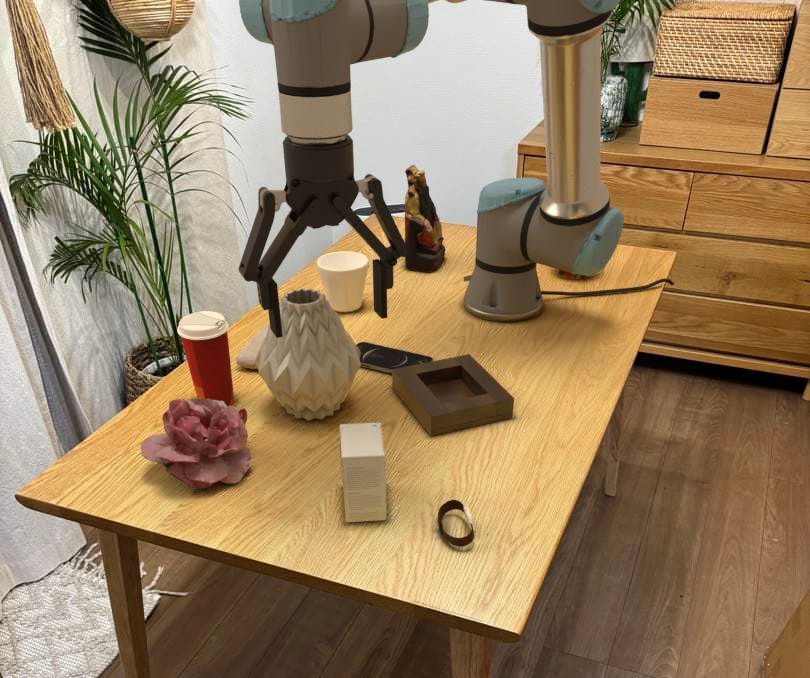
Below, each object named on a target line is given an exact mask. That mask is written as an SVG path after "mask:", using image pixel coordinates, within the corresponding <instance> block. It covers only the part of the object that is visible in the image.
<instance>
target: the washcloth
mask: <svg viewBox="0 0 810 678" xmlns="http://www.w3.org/2000/svg"><path fill="white" fill-rule="evenodd" d="M269 324H270V322H269V323H268V324H266V325H265V324H264V325H262V326H261V327H260V329H259V330H258V332H256V334H255V335H253V336H252V337H251V338H250V339H249V341H248V342H247V343H246V344H245V345H244V346H243V347H242V348H241V349H240V350H239V351H238V354H237V356H236V365H237V366H240V367H242V368H246V369H250V370H259V369H258V367H257V365H256V363H255V359H256V357H257V354H258V352H259V349H260V347H261V344H262V342H263V340H264V339H265V337H266V335H267V332H268V328H269Z"/></svg>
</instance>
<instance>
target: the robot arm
mask: <svg viewBox="0 0 810 678" xmlns="http://www.w3.org/2000/svg"><path fill="white" fill-rule="evenodd" d="M438 1H440V0H238V7H239V12H240V18H241V21H242V23H243V26H244V27H245V29H246V31H247V33H248V34H249V35H250V36H251V37H252V38H254V40H256V41H258V42H260V43H265V44H268V45H272V46H273V51H274V61H275V68H276V69H275V71H276V80H277V89H278V100H279V113H280V114H279V115H280V127H281V128H280V129H281V132H282V133H283V134H284V135H286V136H285V137H284V138H283V139H284V140H283V141H282V151H283V161H284V173H285V184H284V185H285V186H284V188H283V189H269V188H268V187H267V186H261V187H260V188H259V189H258V191H257V192H258V194H257V195H258V196H257V199H258V201H257V203H258V205H257V207H258V209H257V211H256V212H257V213H256V215H255V218H254V221H253V223H252V227H251V229H250V233H249V236H248V239H247V241H246V244H245V247H244V250H243V254H242V256H241V260H240V262H239V266H238V272H239V274H240V275H241V276H242V278H243V280H245V282H247V283H248V282H254V283H256V289H257V298H258V303H259V305H260V307H261V308H262V309H263V311H267V313H268V319H269V320H268V321H269V323H270V329H271V331H272V332H273V333H274V335H275V336H276V338H279V337H283V334H282V325H281V316H280V306H279V303H280V298H279V288H278V283H277V282H276V280H275V279H274V278H273V277H274V276H275V275H276V273H277V271H278V270H279V268H280V267H281V265H282V264H283V262H284V260H285V259H286V257H287V255H289V253H290V251H291V249H292V248H293V246H294V245H295V243H296V241H297V240H298V239H299V238H300V236H302V235H303V234H304V233H305V231H306V230H307V228H311V229H313V230H317V229H321V228H324V227H326V226H327V227H337V226H338V227H339V226H340V224H341V223H342V222H343V221H345V222H346V223H347V224H349V226H350V227H351V228H352V229H353V230H354V231H355V232H356V234H357V235H359V236H360V238H361V239H362V240H363V241H364V242H365V243H366V244H367V245H368V246H369V248H370V249H371V250H372V251H373V252H374V253H375V254H376V256H378V257H379V258H375V259H372V291H373V292H372V293H373V294H372V295H373V296H372V297H373V312H374V313H375V314H376V315H377V316H378V317H379V318H380V319H382V320H383V319H387V318H388V290H392V289H393V287H394V267H395V266H396V265H397V263H398V259H400V258H405V257H406V256H407V255H408V248H407V246H406V244H405V239H404V238H403V236H402V234H401V232H400V230H399V228H398V226H397V224H396V222H395V220H394V217H393V216H392V213H391V212H390V211H391V210H390V209H389V207H388V206H387V203H386V201H385V198H384V190H383V182H382V181H381V180H380V179H379V178H377V177H376V176H375V175H373V174H371V173H367V174H366V175H364V178H362V179H357V180H356V178H355V159H354V158H355V155H354V139H353V138H352V137H351V135H350V134H351V132H352V131H353V128H354V126H353V125H354V124H353V110H352V109H353V105H352V89H351V88H352V83H351V81H352V79H351V78H352V77H351V65H354V64H358V63H359V64H360V63H364V62H370V61H377V60H381V59H386V58H392V59H394V58H397V57H399V56H401V55H403V54H406V53H410V52H412V51H413V50H415V49H416V48H418V46H419V45H420V44H421V43H422V42H423V40H424V38H425V36H426V34H427V30H428V27H429V18H430V11H429V10H430V9H429V4H433V3H435V2H438ZM444 1H445V2H447V3H451V4H459V3H463V2H465V1H467V0H444ZM484 1H487V2H496V3H502V4H510V5H520V6H525V8H526V15H527V16H526V17H527V18H526V19H527V29H528V31H529V32H530V34H532V35H533V36H534V37H536V38H537V39H538V40H539V57H540V72H541V73H540V75H541V91H542V109H543V110H542V111H543V125H544V126H543V128H544V143H545V144H544V145H545V146H544V147H545V161H546V163H545V165H546V181H547V182H546V183H547V187H546V186H545V181H543V180H541V179H540V178H536V177H511V178H504V179H499V180H496V181H492V182H490V183H488V184H486V185H485V186H483V187H482V189H481V190H480V193H479V196H478V205H477V209H476V213H477V218H476V238H475V239H476V241H475V242H476V243H475V260H474V261H475V264H474V267H473V271H472V274H471V275H466V276H463V282H468V284H467V287H466V289H465V292H464V295H463V296H464V297H463V306H464V308H465V310H466V311H467V312H468V313H469V314H471V315H472V316H475V317H478V318H479V319H483V320H487V321H491V322H492V321H493V322H500V323H501V322H503V323H505V322H507V323H509V322H518V321H519V322H520V321H525V320H528V319H530V318H533V317H535V316H536V315H539V313H541V311H542V306H543V296H572V297H576V296H579V297H581V296H595V295H604V294H616V293H624V292H625V293H626V292H634V291H642V290H648V289H650V288H653V287H654V286H657V285H659V284H661V283H667V284H669V285H671V286H675V283H674V281H673V280H672V279H669V278H659V279H658V280H655V281H653V282H651V283H649V284H645V285H639V286H631V287H623V288H612V289H601V290H591V291H557V290H554V291H553V290H542V289H541V285H540V280H539V276H538V270H537V265H542V266H545V267H549V268H552V269H555V270H558V269H559V270H563V271H567V272H570V273H572V274H580V275H585V276H587V277H595V276H596V275H598V274H600V272H602V271H603V270H604V269H605V268H606V266H607V265H608V264H609V262H610V260H611V259H612V257H613V256H614V253H615V251H616V250H617V247H618V245H619V242H620V239H621V237H622V232H623V228H624V221H625V220H624V213H623V212H622V211H621V209H619V208H618V207H615V206H613V207H612V206H611V193H610V189H609V187H608V185H607V184H605V183H604V182H603V181H602V179H601V178H602V177H601V173H602V171H601V163H602V162H601V158H602V157H601V155H602V154H601V147H602V145H601V143H602V142H601V141H602V140H601V138H602V137H601V134H602V133H601V129H602V128H601V127H602V126H601V125H602V124H601V122H602V121H601V118H602V116H601V114H602V113H601V112H602V111H601V110H602V109H601V108H602V106H601V104H602V101H601V99H602V98H601V97H602V95H601V93H602V92H601V90H602V88H601V87H602V85H601V84H602V68H601V67H602V61H601V60H602V59H601V58H602V49H601V48H602V47H601V46H602V29H603V28H604V26H605V25H606V24H607V23H608V22H609V21H610V19H611V17H612V15H613V9H615V8H616V6H618V5H619V3H620V2H621V0H484ZM359 193H360V194H361V196H362V197H363V198H364V199H366V200H367V201H368V204H369V206H370V208H371V209H372V212H373V214H374V216H375V218H376V220H377V222H378V223H379V226H380V228H381V229H382V231H383V233H384V235H385V237H386V239H387V241H388V244H389V246H387V247H386V246H385V244H384V243H383V242H382V241H381V240H380V238H378V237H377V236H376V234H375V233H374V232H373V231H372V230H371V229H370V228H369V226H367V224H366V223H365V222H364V221H363V220H362V218H361V217H360V216H359V215H358V214H357V213H356V211H354V209H353V208H352V207H353V205H354V203H355V201H356V199H357V198H358V196H359ZM283 203H286V204H287V205H288V207H289V208H290V210H289V211H288V213H287V215H286V217H285V218H284V222H283V225H282V226H281V228H280V229H279V231H278V233H277V234H276V236H275V238H274V239H273V240H272V242H271V244H270V245H269V247H268V249H267V250H266V252H265V254H263V253H264V250H265V247H266V244H267V241H268V239H269V236H270V233H271V230H272V227H273V224H274V221H275V215H276V213H278V212H279V211H280V210H281V206H282V205H283ZM262 256H263V257H262ZM559 270H558V271H559Z"/></svg>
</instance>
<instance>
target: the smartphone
mask: <svg viewBox="0 0 810 678" xmlns="http://www.w3.org/2000/svg"><path fill="white" fill-rule="evenodd" d="M355 344H356V346H357V347H358V349H359V350H360V352H361V355H360V359H359V360H360V363H361V366H360V367H362V368H367V369H370V370H375V371H379V372H384V373H388V374H392V369H397V368H402V367H407V366H412V365H417V364H422V363H427V362H432V361H434V358H433V357H432V356H429V355H425V354H421V353H417V352H412V351H407V350H403V349H398V348H395V347H390V346H385V345H381V344H375V343H372V342H367V341H359V342H358V343H355Z"/></svg>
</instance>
